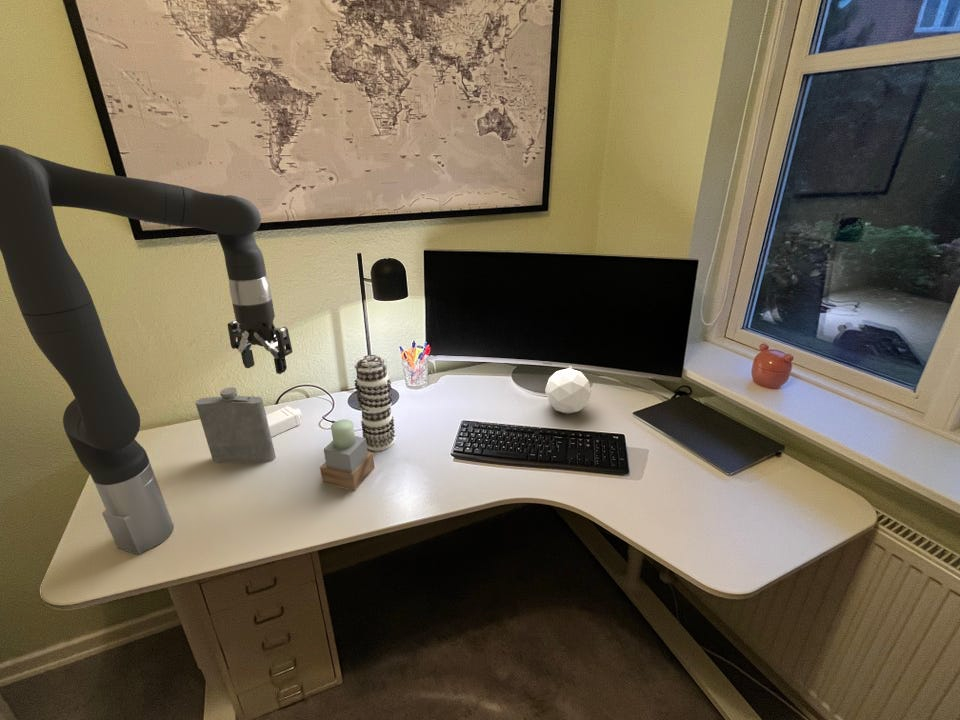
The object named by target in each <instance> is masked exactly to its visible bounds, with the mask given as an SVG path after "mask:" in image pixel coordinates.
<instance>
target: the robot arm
mask: <svg viewBox="0 0 960 720" xmlns="http://www.w3.org/2000/svg"><path fill="white" fill-rule="evenodd" d="M53 207H65V208H74V209H83V210H88V211H96V212H101V213H105V214H106V213H107V214H111V215H116V216H120V217H125V218H127V219H133V220H136V221H137V220H138V221H143V222H147V223H151V224H152V223H154V224H159V225H167V226H174V227H182V228H193V229H195V228H196V229H201V230H204V231H205V230H206V231H209V232H215V233H216V235H217V237H218V240H219V243H220V246H221V249H222V252H223V255H224V261H225V268H226V272H227V273H226V274H227V277H228V285H229V286H228V287H229V295H230V299H231V303H232V308H233V313H234V318H235V320H234V321H233V320H232V321H231V322H229V323H227V331H228V336H229V341H230V347H231V348H232V349H233V350H237V351H238V352H239V353H240V355H241V360H242V364H243V367H244V368H246V369H251V368H253V367H255V360H254V355H253V350H252V349H251V348H252V346H256V345H257V346H260V347H263V348H264V349H265V350H266V351H267V352H270V354H271V355H272V357H273V363H274V368H275V373H276V374H277V375H282V374H283V373H285V372H286V370H287V368H288V366H287V362H286V361H287V360H286V357H287V356H288V355H290V354H292V353H293V347H292V342H291V337H290V333H289V330H288V329H289V328H288V327H287V326H284V327H280V328H279V327H276V325H275V324H274V319H275V316H276V315H275V310H274V304H273V298H272V292H271V286H270V283H269V280H268V276H267V271H266V264H265V260H264V258H265V257H264V255H263V253H262V250H261V249H260V247H259V246H258V245H257V241H256V238H255V232H256V231H257V230H258V229H259V228H260V226H261V223H262V218H261V213H260V210H259V209H258V208H257V206H256V205H255V204H254V203H253V202H251V200H248V199H246V198H244V197H239V196H236V195H232V194H231V195H228V194H227V195H223V194H216V193H210V192H203V191H199V190H197V189H193V188H190V187H186V186H181V185H177V184H173V183H172V184H171V183H165V182H160V181H154V180H149V179H142V178H135V177H127V176H120V175H114V174H107V173H101V172H96V171H91V170H86V169H81V168H78V167H77V168H76V167H73V166H68V165H65V164H61V163H59V162H54V161H51V160H49V159H45V158H42V157H38V156H36V155H32V154H30V153H27V152H25V151H23V150H21V149H18V148H16V147H15V146H9V145H6V144H0V253H1V256H2V258H3V261H4V266H5V269H6V273H7V276H8V280H9V283H10V286H11V288H12V292H13V294H14V297H15V300H16V303H17V305H18V307H19V311H20V312H21V315H22V318H23V320H24V322H25V325H26V326H27V329H28V331H29V334H30V335H31V337H32V340H34V343H35V344H36V346H37V347H38V349H39V350H40V351H41V352H42V353H43V355H44V356H45V357H46V359H47V360H48V361H49V363H50V364H51V365H52V366H53V368H54V369H55V370H56V371H57V372H58V373H59V375H61V377H62V378H63V379H64V381H65V382H66V383H67V385H68V387H69V389H70V390H71V392H72V394H73V397H74V399H73V400H72V401H71V402H70V403H69V404H68V405H67V406H66V408H65V410H64V412H63V415H62V416H63V417H62V425H63V429H64V432H65V435H66V437H67V439H68V441H69V442H70V444H71V447H72V448H73V451H74V453H75V454H76V456H77V458H78V460H79V462H80V463H81V465H82V467H83V468H84V469H85V470H86V471H87V473H89V476H90V478H91V479H92V482H93V483H94V485H95V488H96V490H97V492H98V495H99V497H100V499H101V502H102V505H103V506H104V508H105V510H103V511H102V513H101V515H102V516H103V519H104V521H105V523H106V525H107V527H108V529H109V532H110V534H111V537H112V539H113V541H114V544H115V545H116V547H117V548H118V549H120V550H123V551H125V552H126V551H127V552H129V553H132V554H135V555H142V553H143V552H146V551H147V550H150V549H153V548H154V547H156V546H158V545H160V544H162V543H163V542H165V540H166V539H168V538H169V537H170V536H171V535H172V533H173V530H174V523H173V520H172V517H171V515H170V512H169V509H168V507H167V504H166V502H165V500H164V496H163V494H162V491H161V489H160V486H159V483H158V481H157V478H156V475H155V472H154V470H153V467H152V464H151V462H150V459H149V456H148V453H147V451H146V450H145V448H144V447H143V446H142V445H141V444H140V443H139V442H138V441H137V440H136V437H137V436H138V434H139V432H140V428H141V416H140V413H139V411H138V408H137V407H136V405H135V402H134V401H133V399H132V397H131V395H130V394H129V391H128V390H127V387H126V385H125V384H124V382H123V380H122V378H121V376H120V373H119V370H118V369H117V366H116V364H115V359H114V357H113V354H112V351H111V348H110V346H109V342H108V340H107V337H106V335H105V331H104V329H103V326H102V323H101V319H100V317H99V313H98V311H97V309H96V306H95V302H94V300H93V297H92V295H91V293H90V291H89V288H88V286H87V285H86V284H87V283H86V282H85V281H84V278H83V276H82V274H81V273H80V271H79V269H78V267H77V266H76V264H75V263H74V260H73V259H72V258H71V255H70V254H69V253H68V251H67V248H66V247H65V244H64V241H63V240H62V237H61V234H60V232H59V231H60V230H59V228H58V223H57V220H56V217H55V212H54V208H53ZM271 343H272V344H271Z"/></svg>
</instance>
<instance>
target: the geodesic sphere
mask: <svg viewBox="0 0 960 720" xmlns="http://www.w3.org/2000/svg"><path fill="white" fill-rule="evenodd" d="M544 393H545V395H546V398H547V401H548V403H549V404H550V406H551V407H552V408H553V409H554V410H555V411H556V412H559V413H563V414H567V415H568V414H573V413H577V412H579V411H581V410H583V409H584V408H585V407H587V405H588V404H589V402H590V401H589V400H590V398H591V394H592V389H591V385H590V381H589V379H587V377H586V376H585V375H584V373H583V372H582V371H579V370H576V369H575V368H574V367H573V366H572V365H568V368H565V369H560V370H557V371H555V372H554V373H553V374H552V375H551V376H549V378H548V381H547V383H546V386H545V390H544Z"/></svg>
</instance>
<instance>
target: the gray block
mask: <svg viewBox="0 0 960 720" xmlns="http://www.w3.org/2000/svg"><path fill="white" fill-rule="evenodd" d="M355 441H356V442H355V444H354V445H353V446H352V447H350V448H347V449H337V448H335V447H334V443H333V440H332V441H330V443H328V444H327V446H325V447H324V448H323V454H324V458H325V462H326V465H327V467H331V468H336V469H340V470H344V471H348V472H353V471H354V470H355V469H356V468H357V466H358V465H359V464H360V463H361V462H362V461H363V460H364V459H365V458H366V457H367V456H368V452H369V451H368V449H367V445H366V438H363V436H357V435H355Z"/></svg>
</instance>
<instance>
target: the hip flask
mask: <svg viewBox="0 0 960 720" xmlns="http://www.w3.org/2000/svg"><path fill="white" fill-rule="evenodd" d="M237 393H238V391H237V389H236V387H233V386H232V387H225V388H224V389H221V390H220V391H219V395H220V396H210V397H203V398H199V399H197V400H196V401H195V406H196V410H197V413H198V416H199V419H200V420H199V421H200V423H201V426H202V428H203V432H204V436H205V439H206V441H207V442H206V443H207V445H208V446H207V447H208V449H209V452H210V455H211V459H212V463H214V464H220V463H228V462H230V463H231V462H262V463H269V462H272V461H275V460H276V458H277V456H276V453H275V448H274V444H273V439H272V438H273V437H271V434H270V430H269V425H268V421H267V417H266V415H267V413H266V410H265V405H264V400H263V398H262V396H261V397H260V396H250V395H249V396H248V395H238V394H237Z"/></svg>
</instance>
